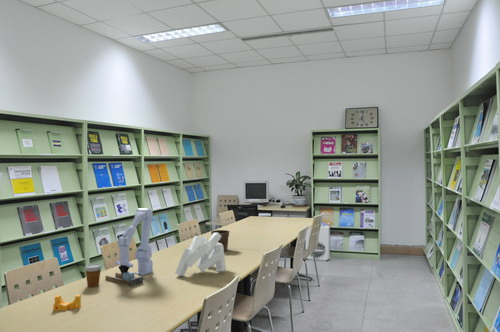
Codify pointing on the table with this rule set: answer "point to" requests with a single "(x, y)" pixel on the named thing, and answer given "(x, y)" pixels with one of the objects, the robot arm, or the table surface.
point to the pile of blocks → (203, 254)
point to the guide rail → (129, 283)
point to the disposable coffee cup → (93, 274)
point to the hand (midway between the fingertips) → (124, 277)
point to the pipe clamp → (63, 305)
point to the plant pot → (223, 237)
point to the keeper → (128, 275)
